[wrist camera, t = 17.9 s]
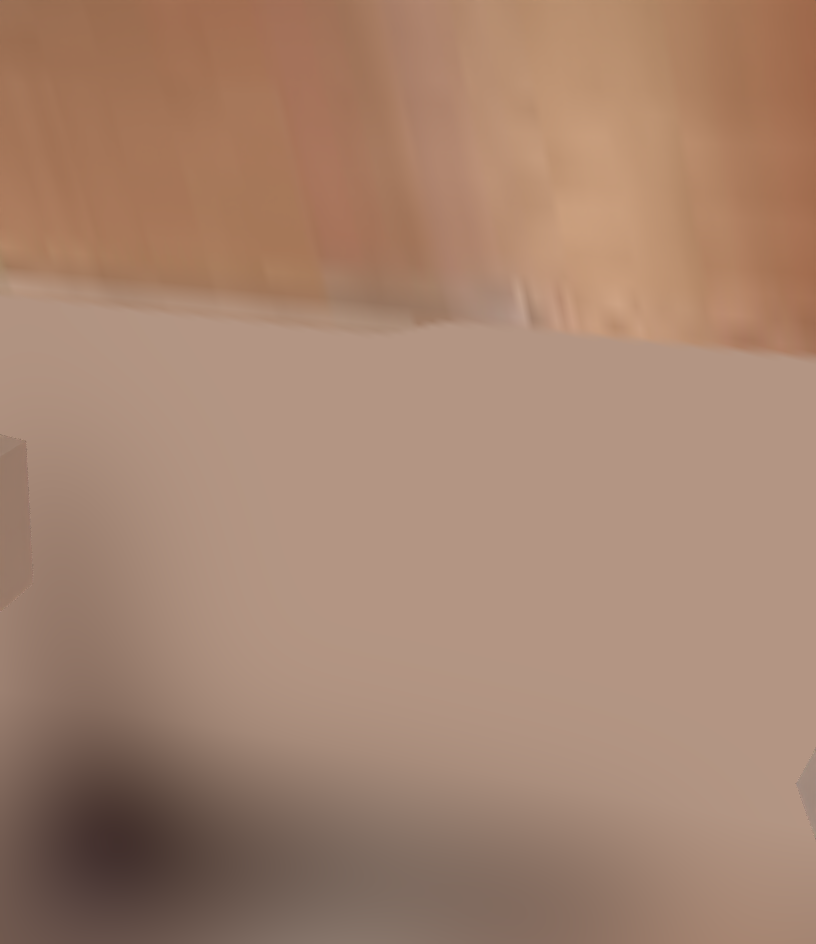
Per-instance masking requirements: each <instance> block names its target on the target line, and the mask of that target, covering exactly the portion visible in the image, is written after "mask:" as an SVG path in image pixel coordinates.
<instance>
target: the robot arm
mask: <svg viewBox="0 0 816 944" xmlns="http://www.w3.org/2000/svg"><path fill="white" fill-rule="evenodd" d="M32 584H33V564H32V545H31V526H30V506H29V487H28V467H27V448H26V441H24V440H21V439H16V438H12V437H8V436H4V435H0V612H1V611H2V610H3V609H5V608H6V607H7V606H8V605H9V604H10V603H12V602H13V601H14V600H15V599H16V598H17V597H18V596H19V595H21V594H22V593H23V592H24V591H25V590H26V589H27V588H29V587H30V586H31V585H32ZM796 785H797V788H798V791H799V794H800V797H801V800H802V802H803V805H804V808H805V811H806V814H807V817H808V820H809V822H810V825H811V828H812V831H813V834H814V837H815V839H816V749H815V751H814V752H813V754H812V756H811V758H810V759H809V761H808V763H807V765H806V767H805V768H804V770H803V772H802V774H801V775H800V777H799V779H798V781H797V783H796Z"/></svg>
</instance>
